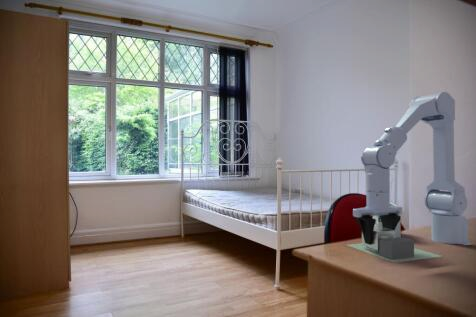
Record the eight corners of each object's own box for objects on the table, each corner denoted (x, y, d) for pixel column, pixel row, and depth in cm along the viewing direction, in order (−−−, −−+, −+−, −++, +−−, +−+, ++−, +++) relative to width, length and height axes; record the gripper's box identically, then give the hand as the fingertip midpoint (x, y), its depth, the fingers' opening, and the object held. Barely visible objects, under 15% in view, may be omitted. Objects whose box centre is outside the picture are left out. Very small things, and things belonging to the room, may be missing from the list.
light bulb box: (401, 242, 106) (401, 206, 106) (377, 241, 108) (377, 205, 108) (393, 234, 117) (393, 202, 117) (371, 233, 118) (371, 201, 118)
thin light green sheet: (388, 243, 104) (388, 226, 104) (442, 260, 87) (442, 240, 87) (345, 248, 99) (345, 230, 99) (394, 266, 82) (394, 245, 82)
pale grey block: (378, 243, 97) (378, 226, 97) (395, 248, 91) (395, 230, 91) (361, 245, 95) (361, 227, 95) (377, 250, 89) (377, 231, 89)
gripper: (388, 189, 99) (388, 237, 99) (345, 191, 94) (345, 241, 94) (408, 191, 93) (408, 243, 93) (363, 193, 88) (363, 247, 88)
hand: (378, 242), depth 93 cm, fingers closed on pale grey block, 6 cm apart
